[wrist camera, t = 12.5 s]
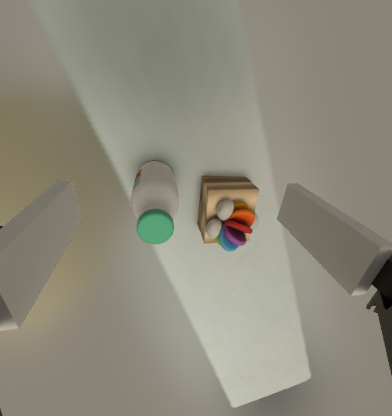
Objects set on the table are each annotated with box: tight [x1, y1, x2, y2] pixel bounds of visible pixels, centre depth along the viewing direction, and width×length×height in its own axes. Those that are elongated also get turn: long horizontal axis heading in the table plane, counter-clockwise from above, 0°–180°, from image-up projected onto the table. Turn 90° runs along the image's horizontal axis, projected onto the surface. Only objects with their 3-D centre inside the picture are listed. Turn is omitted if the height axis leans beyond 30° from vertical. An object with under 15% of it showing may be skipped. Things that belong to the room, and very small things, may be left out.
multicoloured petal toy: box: [206, 200, 258, 251], centre depth 39 cm, size 8×10×7 cm
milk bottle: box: [131, 161, 179, 244], centre depth 34 cm, size 8×8×20 cm
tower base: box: [197, 176, 252, 232], centre depth 47 cm, size 12×10×4 cm
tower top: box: [201, 182, 259, 243], centre depth 44 cm, size 12×10×4 cm
